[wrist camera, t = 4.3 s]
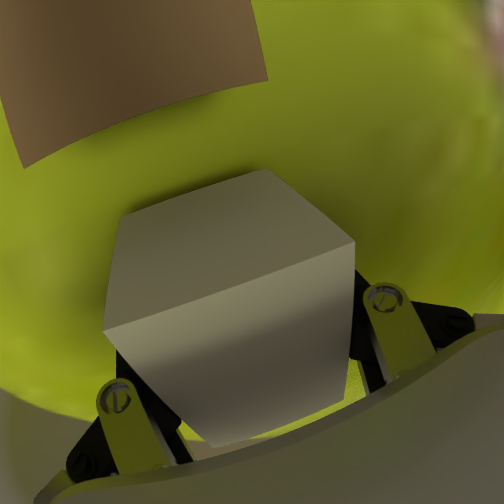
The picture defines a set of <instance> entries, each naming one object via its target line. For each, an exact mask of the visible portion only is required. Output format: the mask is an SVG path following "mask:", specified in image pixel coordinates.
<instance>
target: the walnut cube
mask: <svg viewBox="0 0 504 504" xmlns="http://www.w3.org/2000/svg"><path fill="white" fill-rule="evenodd" d="M263 81H268V77H267V72H266V67H265V63H264V58H263V53H262V48H261V44H260V39H259V35H258V30H257V26H256V22H255V17H254V13H253V9H252V5H251V1H250V0H0V97H1V101H2V104H3V108H4V112H5V115H6V119H7V122H8V125H9V128H10V132H11V135H12V138H13V141H14V143H15V146H16V149H17V152H18V155H19V157H20V160H21V163H22V165H23V168H24V169H25V168H27V167H28V166H30V165H32V164H34V163H35V162H37V161H39V160H41V159H43V158H44V157H46V156H48V155H50V154H52V153H54V152H56V151H58V150H60V149H61V148H63V147H65V146H67V145H69V144H72V143H74V142H76V141H78V140H80V139H82V138H84V137H86V136H89V135H91V134H93V133H95V132H98V131H100V130H102V129H105V128H107V127H109V126H112V125H114V124H117V123H119V122H122V121H124V120H127V119H129V118H132V117H135V116H138V115H140V114H143V113H146V112H149V111H152V110H155V109H157V108H160V107H164V106H167V105H170V104H173V103H176V102H180V101H183V100H186V99H190V98H193V97H197V96H201V95H204V94H208V93H212V92H216V91H220V90H224V89H229V88H233V87H238V86H243V85H247V84H252V83H258V82H263Z"/></svg>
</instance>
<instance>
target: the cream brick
mask: <svg viewBox="0 0 504 504" xmlns="http://www.w3.org/2000/svg"><path fill="white" fill-rule="evenodd" d="M354 278H355V241H354V240H353V239H352V238H351V237H350V236H349V235H348V234H346V233H345V232H344V231H343V230H342V229H341V228H340V227H338V226H337V225H336V224H335V223H334V222H333V221H331V220H330V219H329V218H328V217H327V216H326V215H324V214H323V213H322V212H321V211H320V210H318V209H317V208H316V207H315V206H314V205H312V204H311V203H310V202H309V201H307V200H306V199H305V198H304V197H303V196H301V195H300V194H299V193H298V192H296V191H295V190H294V189H293V188H291V187H290V186H289V185H288V184H286V183H285V182H284V181H283V180H281V179H280V178H279V177H277V176H276V175H275V174H274V173H272V172H271V171H270V170H268V169H267V168H265V169H262V170H258V171H255V172H251V173H248V174H245V175H241V176H238V177H235V178H232V179H228V180H225V181H222V182H219V183H216V184H213V185H209V186H206V187H203V188H200V189H197V190H194V191H191V192H188V193H185V194H183V195H180V196H177V197H174V198H171V199H168V200H166V201H163V202H160V203H157V204H155V205H152V206H149V207H146V208H144V209H141V210H139V211H136V212H133V213H131V214H128V215H126V216H123V217H121V219H120V223H119V228H118V232H117V237H116V242H115V247H114V252H113V258H112V263H111V269H110V275H109V281H108V288H107V295H106V303H105V311H104V320H103V329H102V332H103V333H104V334H105V335H106V337H107V338H108V339H109V341H110V342H111V343H112V344H113V346H114V347H115V348H116V349H117V351H118V352H119V353H120V354H121V355H122V357H123V358H124V359H125V360H126V361H127V362H128V364H129V365H130V366H131V367H132V368H133V369H134V371H135V372H136V373H137V374H138V375H139V376H140V377H141V378H142V379H143V381H144V382H145V383H146V384H147V385H148V386H149V387H150V388H151V389H152V390H153V391H154V392H155V393H156V394H157V395H158V397H159V398H160V399H161V400H162V401H163V402H164V403H165V404H166V405H167V406H168V407H169V408H170V409H171V410H172V411H173V412H174V413H175V414H177V415H178V416H179V417H180V418H181V419H182V420H183V421H184V422H185V423H186V424H187V425H188V426H189V427H190V428H191V429H193V430H194V431H195V432H196V433H197V434H198V435H199V436H200V437H202V438H203V439H204V440H205V441H206V442H207V443H209V444H210V445H211V446H212V447H213V448H218V447H221V446H225V445H228V444H232V443H235V442H238V441H241V440H245V439H248V438H251V437H254V436H257V435H260V434H262V433H265V432H268V431H271V430H273V429H276V428H279V427H281V426H284V425H287V424H289V423H292V422H294V421H297V420H299V419H301V418H304V417H306V416H308V415H311V414H313V413H315V412H318V411H320V410H322V409H324V408H326V407H329V406H331V405H333V404H335V403H337V402H339V401H341V400H343V399H344V392H345V384H346V377H347V369H348V360H349V350H350V340H351V328H352V315H353V299H354Z"/></svg>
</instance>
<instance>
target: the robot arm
mask: <svg viewBox="0 0 504 504" xmlns="http://www.w3.org/2000/svg"><path fill="white" fill-rule="evenodd" d="M349 357H350V359H353V360H357V364H358V368H359V371H360V375H361V378H362V382H363V386H364V389H365V393H366V397H364V398H362V399H360V400H358V401H356V402H354V403H352V404H350V405H348V406H346V407H344V408H342V409H340V410H338V411H336V412H334V413H332V414H330V415H328V416H325V417H323V418H321V419H319V420H317V421H314V422H312V423H310V424H307V425H305V426H303V427H300V428H298V429H295V430H293V431H290V432H288V433H285V434H283V435H280V436H277V437H275V438H272V439H269V440H266V441H264V442H261V443H258V444H255V445H252V446H249V447H245V448H242V449H239V450H236V451H232V452H229V453H226V454H222V455H218V456H215V457H211V458H207V459H203V460H199V461H197V459H196V457H195V456H194V454H193V452H192V451H191V449H190V448H189V446H188V444H187V442H186V441H185V439H184V437H183V435H182V434H181V432H180V430H179V428H178V427H179V426H180V424H181V423H182V422H181V418H180V417H179V416H178V415H177V414H175V413H174V412H173V411H172V410H171V409H170V408H169V407H168V406H167V405H166V404H165V403H164V402H163V401H162V400H161V399H160V398H159V397H158V395H157V394H156V393H155V392H154V391H153V390H152V389H151V388H150V387H149V386H148V385H147V384H146V383H145V382H144V381H143V379H142V378H141V377H140V376H139V375H138V374H137V373H136V372H135V371H134V369H133V368H132V367H131V366H130V365H129V364H128V362H127V361H126V360H125V359H124V358H123V357H122V355H121V354H120V353H119V352H118V351H117V349H116V379H113V380H110V381H109V382H107V383H106V384H104V385H103V387H102V388H101V389H100V391H99V393H98V395H97V399H96V407H97V411H98V414H99V416H98V417H97V418H96V420H95V421H94V422H93V423H92V425H91V426H90V427H89V429H88V430H87V431H86V432H85V434H84V435H83V436H82V438H81V439H80V440H79V441H78V443H77V444H76V446H75V447H74V448H73V449H72V451H71V452H70V454H69V456H68V457H67V461H66V470H63V469H61V470H60V471H59V472H58V473H57V474H56V475H55V476H54V477H53V479H51V480H50V482H49V483H48V484H47V485H46V486H45V487H44V488H43V489H42V490H41V491H40V492H39V493H38V494H37V495H36V497H35V498H34V501H33V504H504V314H477V313H474V314H473V317H471V316H470V315H469V314H468V313H467V312H466V311H464V310H462V309H459V308H455V307H448V306H441V305H435V304H428V303H421V302H415V301H410V300H409V298H408V296H407V294H406V293H405V291H404V290H403V289H402V288H400V287H399V286H397V285H395V284H392V283H386V282H383V283H376V284H374V285H370V284H369V283H368V282H367V281H366V280H365V279H364V278H363V277H362V276H361V275H360V274H359V273H358V272H357V271H356V270H355V278H354V299H353V315H352V328H351V340H350V350H349Z"/></svg>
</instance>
